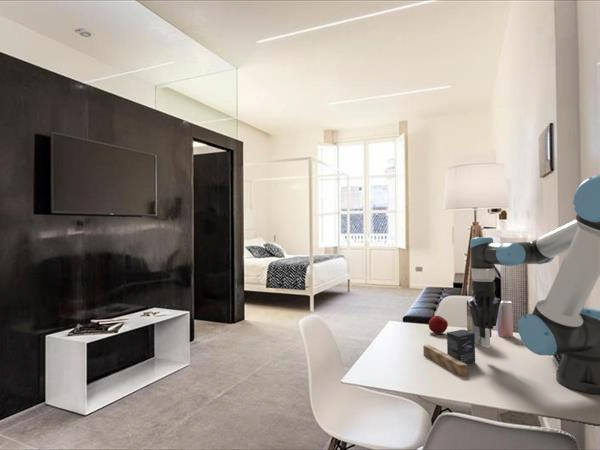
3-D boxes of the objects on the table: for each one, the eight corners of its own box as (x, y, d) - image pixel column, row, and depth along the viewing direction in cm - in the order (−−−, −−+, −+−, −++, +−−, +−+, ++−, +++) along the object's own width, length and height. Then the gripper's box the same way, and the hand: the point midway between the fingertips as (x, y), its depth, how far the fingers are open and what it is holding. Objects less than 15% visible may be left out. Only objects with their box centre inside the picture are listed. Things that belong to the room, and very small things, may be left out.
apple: (439, 336, 167) (439, 318, 167) (425, 332, 174) (425, 315, 174) (451, 334, 171) (451, 316, 171) (436, 330, 178) (436, 313, 178)
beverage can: (494, 334, 170) (493, 300, 170) (505, 333, 171) (504, 300, 172) (505, 338, 164) (504, 303, 164) (516, 336, 166) (515, 302, 166)
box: (463, 358, 139) (462, 328, 139) (476, 363, 134) (475, 332, 134) (446, 361, 135) (446, 331, 136) (459, 366, 130) (459, 335, 130)
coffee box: (466, 338, 164) (465, 301, 164) (482, 339, 163) (481, 301, 163) (471, 344, 155) (471, 305, 155) (488, 345, 154) (488, 305, 154)
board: (467, 375, 122) (467, 364, 122) (460, 376, 122) (460, 365, 122) (429, 354, 144) (429, 344, 144) (423, 354, 143) (423, 345, 143)
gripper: (491, 278, 142) (494, 342, 141) (460, 280, 139) (463, 345, 138) (506, 280, 135) (509, 347, 134) (474, 281, 132) (477, 351, 131)
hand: (486, 346), depth 136 cm, fingers closed
